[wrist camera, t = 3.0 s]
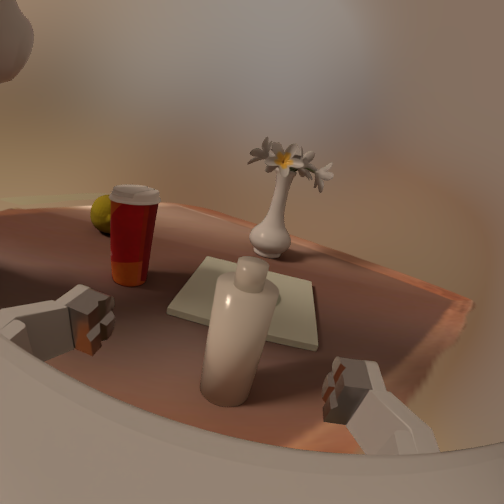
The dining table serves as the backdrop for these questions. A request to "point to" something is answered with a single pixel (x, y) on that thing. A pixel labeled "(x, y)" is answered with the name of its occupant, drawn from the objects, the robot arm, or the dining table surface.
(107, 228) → the lemon
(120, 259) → the paper cup
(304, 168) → the flower vase
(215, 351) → the cream bottle
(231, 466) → the robot arm
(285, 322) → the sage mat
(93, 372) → the dining table surface
